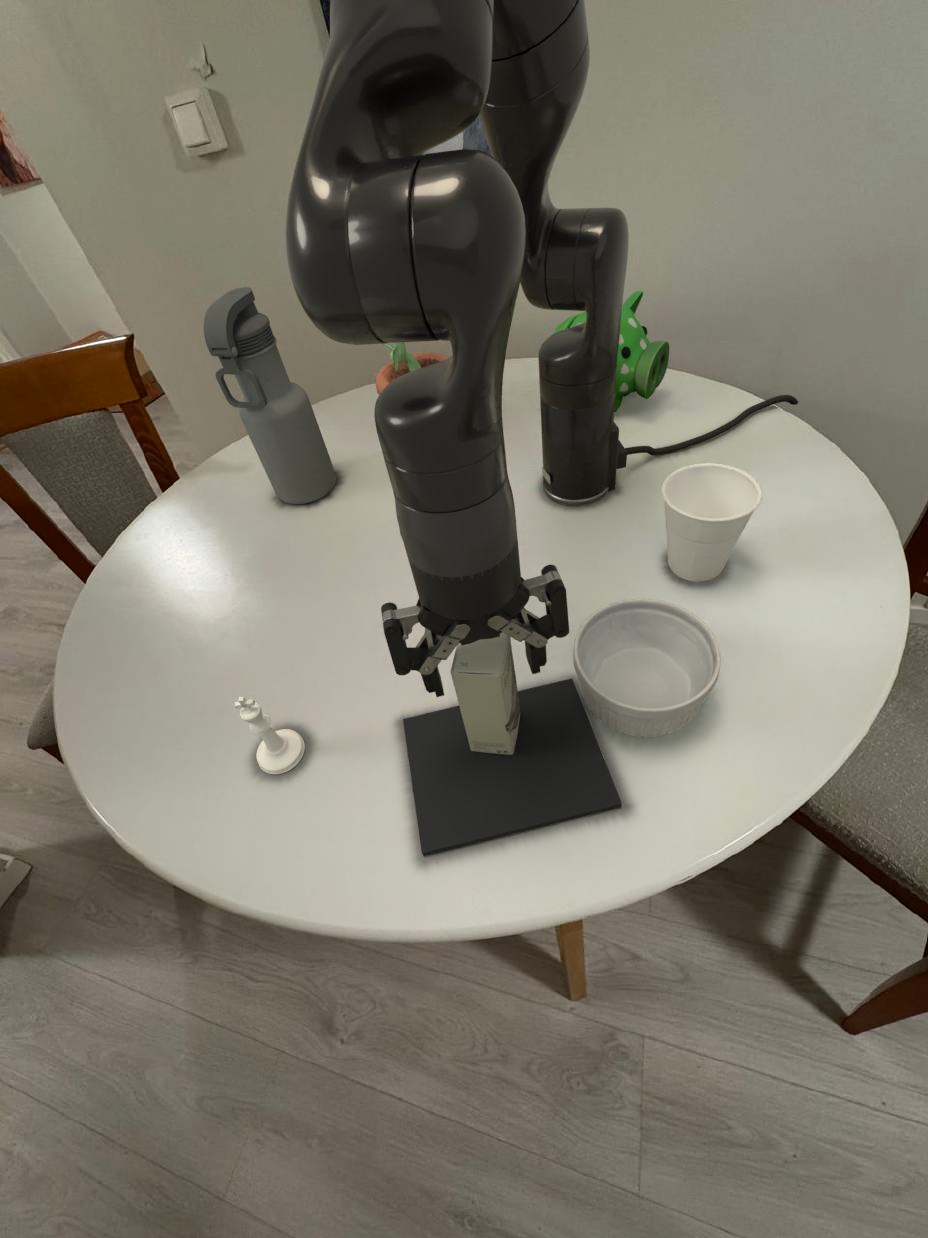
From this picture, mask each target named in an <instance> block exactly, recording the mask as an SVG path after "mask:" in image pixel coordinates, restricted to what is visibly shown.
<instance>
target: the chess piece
mask: <svg viewBox="0 0 928 1238" xmlns="http://www.w3.org/2000/svg"><path fill="white" fill-rule="evenodd" d="M234 707H235V709H240V710H239V718H240V719H241V720H242V721H244V722H247V723H249V725H248V726H249V727H248V728H249V732H250V733H251V734H253V735H260V736H261V738H262V741H261V742H260V743H259V745H258V748H257V750H256V761H257V764H258V765H259V768H260V770H262V772H265V773H266V774H269V775H281V774H285V773H288V772H289V771H291V770H292V769H293V768H295V767H296V766H297V765H298V764H299V763H300V762H301V760H302V758H303V757H304V755H305V750H306V749H305V748H306V745H305V744H306V743H305V740H304V738H303V737H302V736H301V735H300V733H298V732H297V731H295V730H293V729H288V728H281V729H278V730H273V728H271V725H272V718H271V717H270V716H269V715H267V714H265V713H263V712H262V711H263V710H262V705H261V704H260V703H259V702H257V701H255V700H254V699H247V698H245V696H239V697H238V701H234Z"/></svg>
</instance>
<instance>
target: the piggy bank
mask: <svg viewBox="0 0 928 1238" xmlns="http://www.w3.org/2000/svg"><path fill="white" fill-rule="evenodd" d="M643 296H644V290H635V291H634V292H632V293H631V294H630V295H629V296H628V298H626V300H625V301H624V302H623V303H622V313H621V327H620V337H619V347H618V358H617V374H616V391H615V409H614V414H615V413H617V411H618V409H619V408H620V407H621V405H622V402H623V400H624V398H625V397H628V396H629V395H630V394H633V393H636V394H637V395H638V396H640V397H641V398H643V399H645V400H648V399H650V398H651V397H652V396H653V395H654V394H655V391H656V389H657V388H658V387H659V386H660V385H661V383H662V381H663V380H664V378H665V375H666V373H667V369H668V365H669V361H670V360H669V359H670V343H669V341H668V340H657V341H652V342H651V341H650V340H649V338H648V336H647V335H648V329H647V327H646V326H644V325H641V323H640V321H639V319H638V318H637V315H636V312H637V309H638V307H639V305H640V303H641V301H642V298H643ZM586 318H587V315H586V311H582V312H580V313H577V314H574V315H572V316H570V317H568V318H566V319H565V320H563V321H562V322H560V323H559V324H558V326H556V327H555V329H554V330H553V331H552V333H551V335H550V336H552V335H553V334H555V333H557V332H560V331H562V330H565V329H568V328H571V327H574V326H576V325H579V324H581V323H583V322H584V321H586Z"/></svg>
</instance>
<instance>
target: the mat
mask: <svg viewBox="0 0 928 1238" xmlns="http://www.w3.org/2000/svg"><path fill="white" fill-rule="evenodd" d="M517 691H518V698H519V706H520V719H519V727H518V734H517V739H516V744H515V749H514V754H513V755H507V754H496V753H485V752H476V751H471V749H470V745H469V741H468V737H467V733H466V729H465V725H464V722H463V718H462V714H461V710H460V706H459V705H455V706H451V707H446V708H443V709H439V710H433V711H430V712H426V713H422V714H418V715H414V716H409V717H406V718H403V719H402V722H403V723H402V724H403V730H404V737H405V744H406V750H407V751H406V752H407V759H408V764H409V765H408V766H409V773H410V780H411V787H412V794H413V800H414V801H413V802H414V808H415V815H416V823H417V829H418V836H419V843H420V850H421V854H422V857H427V856H431V855H435V854H438V853H439V854H440V853H443V852H447V851H451V850H455V849H459V848H463V847H467V846H472V845H475V844H479V843H483V842H487V841H491V840H496V839H499V838H504V837H507V836H512V835H515V834H519V833H523V832H529V831H532V830H536V829H539V828H544V827H548V826H551V825H556V824H560V823H565V822H568V821H572V820H576V819H580V818H583V817H588V816H593V815H597V814H600V813H605V812H608V811H612V810H617V809H620V808H622V806H623V803H622V800H621V798H620V795H619V792H618V790H617V787H616V785H615V783H614V780H613V777H612V775H611V772H610V769H609V768H608V764H607V762H606V760H605V758H604V755H603V751H602V749H601V747H600V745H599V742H598V740H597V738H596V737H597V736H596V735H595V732H594V730H593V728H592V727H593V726H592V725H591V721H590V719H589V717H588V715H587V712H586V710H585V707H584V704H583V703H582V699H581V697H580V694H579V692H578V690H577V687H576V684H575V682H574V679H573V678H567V679H563V680H559V681H555V682H550V683H547V684H542V685H539V686H534V687H530V688H526V689H521V690H517Z"/></svg>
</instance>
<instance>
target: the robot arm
mask: <svg viewBox="0 0 928 1238" xmlns="http://www.w3.org/2000/svg"><path fill="white" fill-rule="evenodd" d="M328 39H329V40H328V44H327V49H326V52H325V55H324V58H323V62H322V65H321V69H320V72H319V74H318V75H319V76H318V80H317V84H316V87H315V92H314V97H313V99H312V104H311V108H310V111H309V114H308V115H309V116H308V119H307V123H306V126H305V129H304V134H303V136H302V141H301V144H300V147H299V151H298V155H297V159H296V163H295V166H294V171H293V175H292V179H291V184H290V188H289V193H288V198H287V207H286V218H285V221H286V222H285V248H286V258H287V259H286V260H287V266H288V271H289V276H290V280H291V283H292V286H293V289H294V292H295V294H296V297H297V300H298V301H299V303H300V305H301V307H302V309H303V311H304V313H305V314H306V316H307V317H308V318H309V320H311V322H312V324H313V325H314V327H315V328H317V329H318V330H319V331H320V333H322V334H323V335H324V336H326V337H328V338H329V339H330V340H332V341H335V342H337V343H341V344H347V345H353V346H362V345H363V346H364V345H365V346H366V345H367V346H368V345H382V344H385V343H386V344H393V343H399V342H405V343H417V342H420V343H421V342H437V341H438V342H439V341H445V342H446V341H447V342H448V341H449V343H450V346H451V351H452V355H451V356H449V357H450V358H448V359H446V360H443V361H441V362H438V363H435V364H432V365H429V366H426V367H423V368H420V369H417V370H414V371H411V372H409V373H406V374H404V375H402V376H400V377H398V378H396V379H395V380H394V381H392V382H391V383H389V384H388V385H387V386H386V387H385V388H384V389H383V390H382V392H381V393H380V395H379V394H378V396H377V399H376V401H375V405H374V411H373V413H374V416H373V417H374V423H375V430H376V434H377V438H378V442H379V445H380V448H381V453H382V456H383V461H384V462H385V463H384V464H385V467H386V471H387V475H388V478H389V481H390V486H391V489H392V492H393V496H394V497H393V498H394V503H395V504H394V505H395V514H396V519H397V520H396V521H397V523H398V528H399V534H400V538H401V540H402V542H403V546H404V550H405V553H406V556H407V560H408V563H409V567H410V570H411V574H412V578H413V582H414V584H415V588H416V592H417V595H418V600H417V602H416V605H412V606H408V607H403V608H398V606H397V604H396V603H394V602H391V601H389V602H385V603H383V604H382V605H381V607H380V612H381V619H382V627H383V634H384V638H385V640H386V644H387V648H388V652H389V654H390V658H391V661H392V664H393V668H394V672H395V674H396V675H398V676H406V675H409V674H410V673H411V671H416V672H419V674H420V675H421V678H422V681H423V685H424V688H425V691H426V692H428V694H432V693H434V695H435V697H436V698H439V697H443V696H445V690H444V686H443V685H444V684H443V682H442V677H441V672H440V670H439V664H441V662H442V661H446V660H448V658H449V657H450V656H451V654H452V653H453V651H454V650H456V647H457V645H458V643H461V646H462V645H467V644H471V643H473V642H476V641H478V640H480V639H492V638H496V637H500V633H502V632H503V633H505V634H507V635H508V636H510V638H512V639H514V641H515V640H516V641H517V642H519V643H522V642H524V647H525V656H526V660H527V663H528V667H529V669H530V672H531V674H532V675H535V674H539V673H541V667H545V666H546V664H547V662H548V658H547V644H548V642H549V640H550V639H551V638H554V637H555V638H557V639H562V638H566V637H567V636H568V635H569V634H570V621H569V619H570V618H569V611H568V610H569V608H568V607H569V606H568V597H567V596H568V594H567V589H566V586H565V584H564V581H563V579H562V577H561V575H560V572H559V570H558V568H557V566H556V565H555V564H546V565H545V566H544V567H543V568H542V569H541V571H540V574H541V575H538V576H534V577H530V578H526V579H524V577H522V573H521V562H520V549H519V538H518V528H517V518H516V507H515V499H514V494H513V489H512V485H511V483H510V479H509V478H510V477H509V473H508V464H507V455H506V444H505V443H506V442H505V434H504V423H503V382H504V372H505V371H504V370H505V364H506V356H507V348H508V343H509V337H510V331H511V327H512V322H513V318H514V317H513V316H514V313H515V310H516V309H515V308H516V303H517V299H518V294H519V290H520V286H521V290H522V292H523V294H524V296H525V298H526V300H527V302H528V303H529V304H530V305H531V306H533V307H536V308H538V309H542V310H547V311H548V310H549V311H568V312H569V311H572V312H586V315H587V318H586V321H584V322H583V323H581V324H579V325H576V326H574V327H571V328H568V329H565V330H562V331H560V332H557V333H555V334H553V335H552V334H551V335H552V336H551V335H550V336H549V337H547V338H546V339H545V340H544V341H543V342H542V344H541V345H540V347H539V350H538V357H537V358H538V375H539V376H538V382H539V403H540V404H539V405H540V426H541V427H540V429H541V451H542V466H541V474H542V478H543V479H542V488H543V492H544V494H545V495H546V497H548V498H549V500H551V501H553V502H555V503H558V504H561V505H564V506H576V507H577V506H585V505H586V506H587V505H590V504H593V503H596V502H597V501H599V500H601V499H603V498H604V497H605V496H606V495H607V494H609V492H614V491H616V483H617V471H618V470H620V469H624V468H627V461H628V456H629V455H636V454H648V455H650V456H661V455H667V454H672V453H676V452H678V451H682V450H685V449H688V448H691V447H694V446H697V445H700V444H702V443H705V442H708V441H710V440H711V439H714V438H716V437H718V436H720V435H722V434H724V433H726V432H728V431H730V430H732V429H734V428H735V427H736V426H738V425H740V424H741V423H742V422H743V421H745V419H747V418H748V417H749V416H751V415H753V414H754V413H757V412H759V411H761V410H764V409H766V408H769V407H771V406H773V405H776V404H779V403H784V402H785V403H788V404H790V405H791V406H793V405H794V406H795V405H798V404H799V403H800V402H799V400H798V398H796V397H795V396H794V395H790V394H780V395H777V396H773V397H771V398H768V399H766V400H764V401H761V402H759V403H757V404H754V405H752V406H750V407H748V408H747V409H744V411H742V412H741V413H740V414H738V415H737V416H736V417H734V418H733V419H732V420H729V421H728V422H726V423H724V424H723V425H721V426H719V427H717V428H715V429H712V430H711V431H709V432H706V433H704V434H701V435H699V436H695V437H693V438H691V439H688V440H684V441H681V442H678V443H675V444H672V445H668V446H664V447H656V448H654V447H652V446H650V445H635V446H628V447H625V446H624V445H623V444H622V442H621V441H620V428H619V426H618V425H617V423H616V422H615V413H614V409H615V391H616V374H617V358H618V347H619V337H620V327H621V313H622V305H623V303H624V302H623V301H624V292H625V284H626V275H627V268H628V267H627V266H628V259H629V258H628V257H629V243H630V242H629V240H630V239H629V224H628V221H627V217H626V215H625V213H624V212H623V211H622V210H621V209H619V207H578V208H576V207H575V208H572V207H571V208H557V207H556V206H554V204H553V202H552V200H551V197H550V191H549V180H550V176H551V173H552V170H553V167H554V164H555V161H556V159H557V156H558V154H559V151H560V150H561V147H562V146H563V143H564V140H565V138H566V137H567V134H568V132H569V130H570V127H571V125H572V123H573V121H574V119H575V116H576V113H577V110H578V108H579V106H580V104H581V101H582V98H583V95H584V92H585V89H586V84H587V80H588V75H589V70H590V69H589V68H590V56H591V55H590V54H591V51H590V50H591V49H590V39H589V29H588V21H587V11H586V3H585V0H329V38H328ZM478 117H479V119H480V123H481V126H482V129H483V133H484V136H485V139H486V142H487V146H488V149H489V153H488V152H486V151H484V150H479V149H469V148H462V149H453V150H446V151H445V150H444V151H438V152H431V153H426V154H423V153H425V152H427V151H429V150H432V149H434V148H436V147H438V146H440V145H442V144H444V143H446V142H448V141H450V140H452V139H454V138H455V137H457V136H459V135H460V134H462V133H463V132H465V131H466V130H467V129H468V128H469V127H470V126H471V125H473V123H474V122H475V121H476V119H478ZM530 597H536V598H537V600H538V602H539V603H542V604H544V606H545V607H544V608H545V614H544V615H542V616H540V617H538V616H537V615H535V614H534V613H532V612H530V611H529V610H528V609H526V608H525V606H526V605H527V604H528V602H529V601H530ZM416 624H420V626H421V627H423V628H424V633H423V635H422V636H421V638H420V639H419V641H418V643H417V644H416V645H415V647H413V646H412V647H410V646H409V647H408V645H407V640H408V639H409V635H411V633H412V632H413V627H414V626H415V625H416Z"/></svg>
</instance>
